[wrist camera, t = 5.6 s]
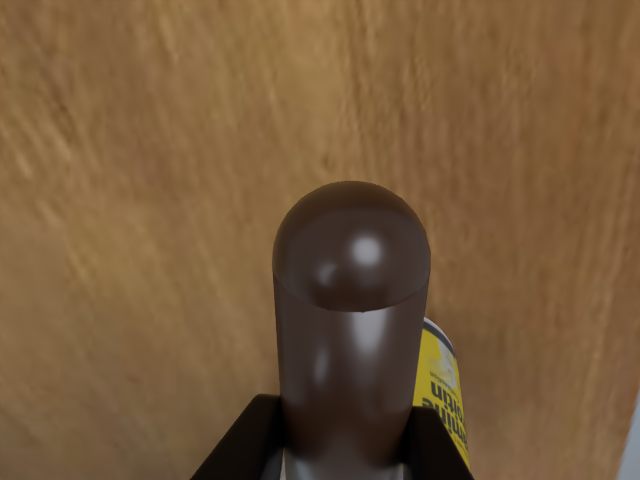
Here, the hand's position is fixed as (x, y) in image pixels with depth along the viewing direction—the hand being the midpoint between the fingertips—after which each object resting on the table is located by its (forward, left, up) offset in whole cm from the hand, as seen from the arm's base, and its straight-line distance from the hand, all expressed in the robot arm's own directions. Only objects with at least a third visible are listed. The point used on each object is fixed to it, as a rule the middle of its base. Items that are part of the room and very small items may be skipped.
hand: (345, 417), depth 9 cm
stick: (0, 0, -1) cm, 1 cm away
